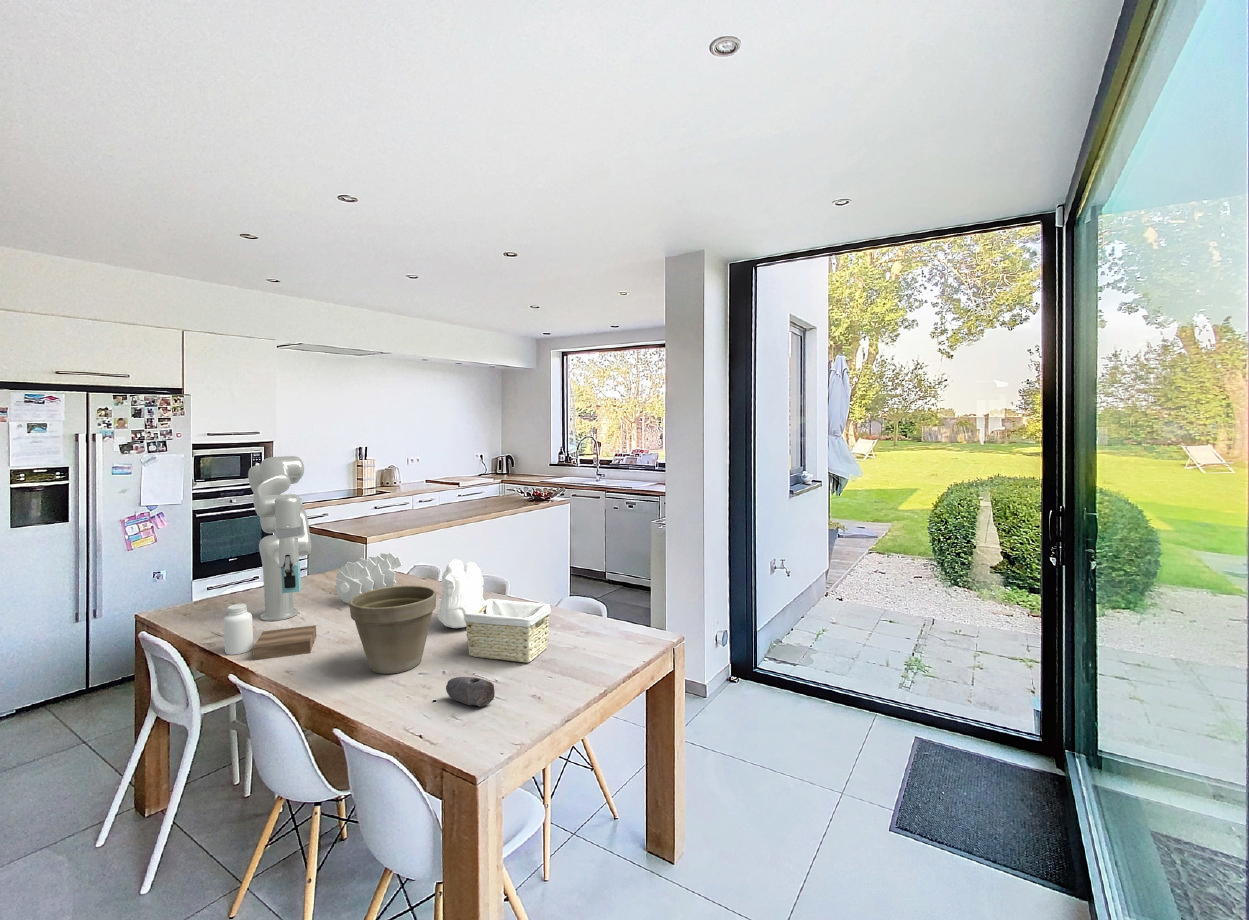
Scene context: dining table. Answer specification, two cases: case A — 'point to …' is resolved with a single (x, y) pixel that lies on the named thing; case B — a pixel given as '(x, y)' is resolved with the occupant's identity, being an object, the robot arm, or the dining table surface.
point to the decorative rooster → (459, 592)
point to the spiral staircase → (366, 575)
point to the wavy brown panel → (284, 642)
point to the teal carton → (297, 580)
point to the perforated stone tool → (471, 690)
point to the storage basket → (507, 630)
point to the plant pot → (393, 625)
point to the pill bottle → (238, 630)
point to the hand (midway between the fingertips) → (291, 585)
